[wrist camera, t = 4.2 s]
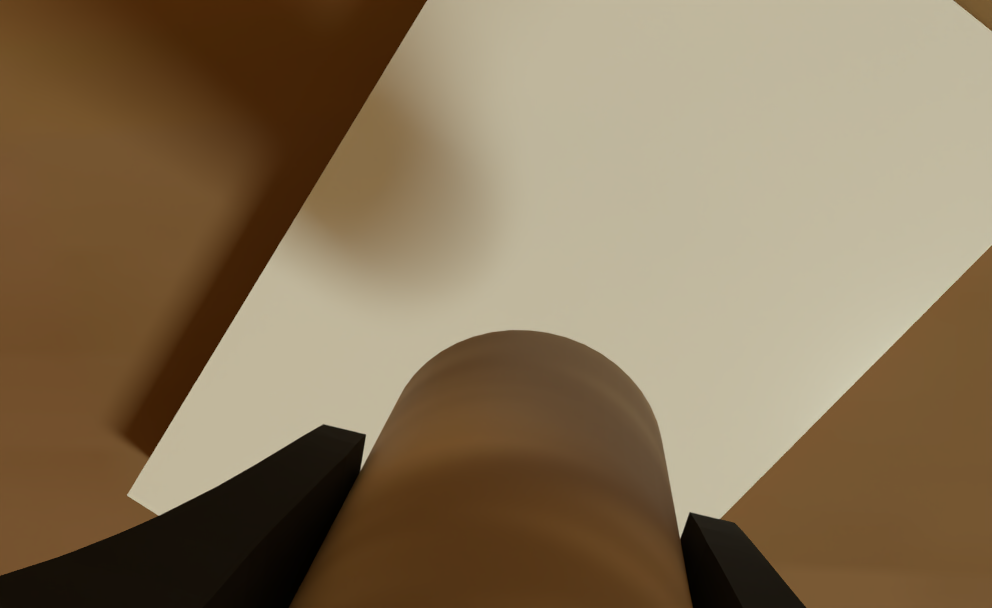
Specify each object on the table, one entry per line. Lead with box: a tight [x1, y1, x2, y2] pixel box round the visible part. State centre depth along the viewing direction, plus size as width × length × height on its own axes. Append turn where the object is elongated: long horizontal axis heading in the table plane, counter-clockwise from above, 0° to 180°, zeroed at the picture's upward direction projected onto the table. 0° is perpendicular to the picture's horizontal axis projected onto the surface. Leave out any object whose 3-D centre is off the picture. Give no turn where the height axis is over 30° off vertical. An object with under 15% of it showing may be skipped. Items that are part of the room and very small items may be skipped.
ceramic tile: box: [127, 0, 992, 538], centre depth 18 cm, size 12×20×2 cm, turn 145°
